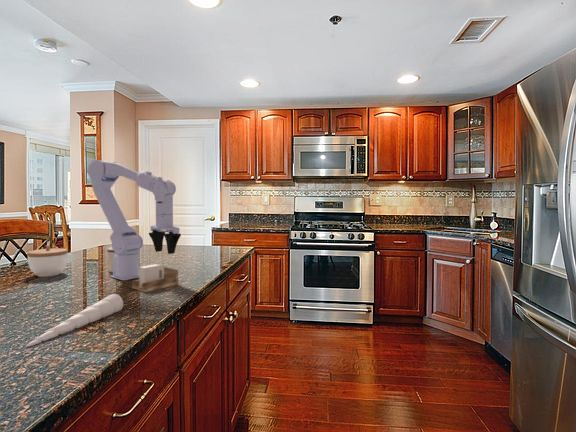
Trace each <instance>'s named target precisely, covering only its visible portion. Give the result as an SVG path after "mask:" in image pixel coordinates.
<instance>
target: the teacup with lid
mask: <svg viewBox="0 0 576 432" xmlns="http://www.w3.org/2000/svg"><path fill="white" fill-rule="evenodd" d="M106 252H107V266H108V267H107V269H108V271H107V272H109V273H112V274H113V258H114V256H115V255H116V252H115V251H114V250H113V248H112V246H110V247H108V248H107V251H106Z"/></svg>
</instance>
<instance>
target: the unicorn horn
mask: <svg viewBox="0 0 576 432" xmlns="http://www.w3.org/2000/svg"><path fill="white" fill-rule="evenodd" d="M123 307H124V300H123V298H122V297H121V295H119V294H116V293H111V294H109V295H107V296H106V297H104V298H102V299H101V300H99V301H97V302H95V303H94V304H92V305H89V306H88V307H86V308H85V309H82V310H81V311H79V312H77V313H76V314H75V315H72V316H71V317H69V318H67V319H66V320H64V321H62V322H60V323H58V324H57V325H56V326H54V327H52V328H50V329H49V330H48V331H45V332H44V333H42V334H41V335H40V336H37V337H36V338H35V339H33V340H32V341H30V342H29V343H27V344H25V348H27V347H32V346H36V345H38V344H41V343H43V342H46V341H48V340H51V339H54V338H56V337H59V335H64V334H66V333H69V332H72V331H74V330H75V329H78V328H81V327H84V326H87V325H89V324H90V323H93V322H96V321H98V320H101V319H104V318H106V317H108V316H110V315H113V314H115V313H118V312H120V311H121V310H122V309H123Z"/></svg>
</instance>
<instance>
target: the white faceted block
mask: <svg viewBox="0 0 576 432" xmlns="http://www.w3.org/2000/svg"><path fill="white" fill-rule="evenodd" d="M164 267H165V264H162V263H155V264H148V265H143V266H139V278H138V280H139V285H140V286H142V283H146V282H151V281H156V280H160V279H164Z"/></svg>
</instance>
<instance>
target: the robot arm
mask: <svg viewBox="0 0 576 432" xmlns="http://www.w3.org/2000/svg"><path fill="white" fill-rule="evenodd" d="M87 175H88V176H89V178H90V182H91V187H92V191H93V193H94V195H95V197H96V199H97V201H98V203H99V205H100V207H101V209H102V211H103V214H104V216H105V218H106V219H107V222H108V224H109V226H110V228H111V230H112V233H111V235H110V236H109V239H110V242H111V247H112V248H113V250H114V251H115V252H116V255H115V256H114V258H113V273H112V275H110V277H111V278H114V279H117V280H120V281H128V280H132V279H133V280H135V279H139V267H140V262H139V261H140V256H139V255H140V252H141V249H142V247H143V244H144V241H143V237H142V236H141V235H140V234H139V233H138V232H137V231H136V229H135V228H133V227H131V226H130V225H129V223H128V222H127V220H126V218H125V216H124V215H125V214H124V213H123V211H122V209H121V207H120V206H119V204H118V202H117V200H116V198H115V195H114V193H113V191H112V187H113V186H114V184H115V183H116V182H117V181H118V179H119V178H120V177H123V178H126V179H129V180H132V181H134V182H136V185H137V186H138V187H139V188H142V189H143V190H146V191H148V192H150V193H152V194H153V196H154V200H155V225H150V232H148V235H149V237H150V239H151V240H152V244H153V246H154V250H155V252H156V253H157V252H162V251H163V245H164V244H163V243H164V239H165V242H166V248H167V254H168V255H172V254H175V252H176V248H177V244H178V242H179V239H180V238H181V236H182V234H181V233H180V227H177V226H174V207H173V206H174V201H173V200H174V199H173V198H174V195H175V193H176V190H177V188H176V184H175V183H174V182H173V181H172V180H169V179H167V180H165V179H163V177H162V176H156V175H154V174H153V173H152V172H151V171H142V172H138V171H136V170H134V169H132V168H129V167H128V166H126V165H123V164H122V163H118V162H116V161H113V162H111V161H107V160H106V161H104V160H99V159H94V160H92V161H90V163H89V165H88V167H87Z"/></svg>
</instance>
